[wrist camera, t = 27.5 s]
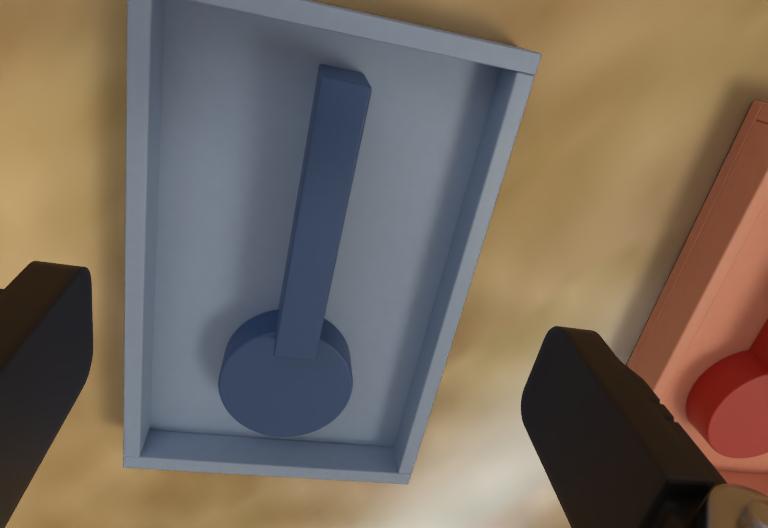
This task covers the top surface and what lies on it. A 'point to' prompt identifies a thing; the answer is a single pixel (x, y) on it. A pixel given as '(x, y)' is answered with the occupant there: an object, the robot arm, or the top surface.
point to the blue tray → (276, 213)
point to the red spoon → (734, 402)
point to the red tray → (715, 292)
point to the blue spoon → (304, 284)
